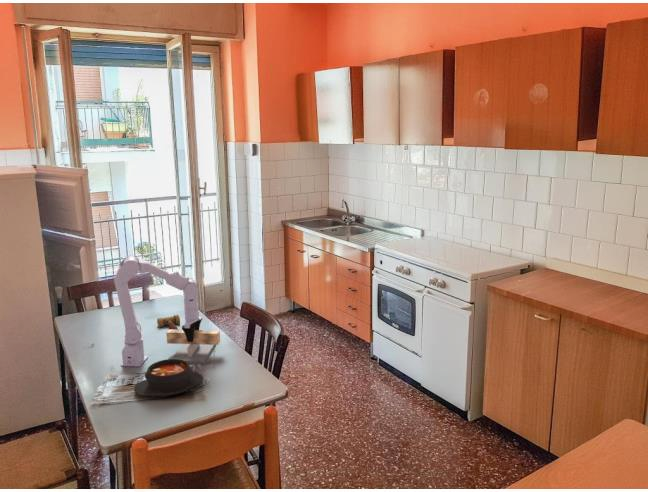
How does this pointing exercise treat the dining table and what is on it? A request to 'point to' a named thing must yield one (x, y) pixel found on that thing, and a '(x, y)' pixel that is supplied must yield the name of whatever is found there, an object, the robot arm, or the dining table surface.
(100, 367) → the dining table surface
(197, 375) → the casserole
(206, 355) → the fulcrum stand
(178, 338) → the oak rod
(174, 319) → the gavel
